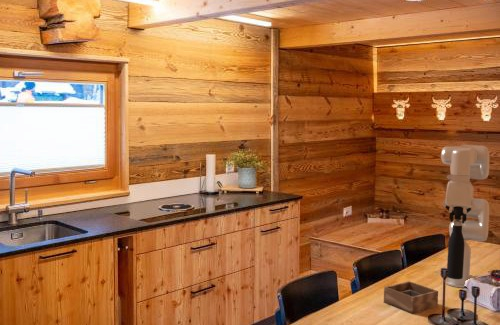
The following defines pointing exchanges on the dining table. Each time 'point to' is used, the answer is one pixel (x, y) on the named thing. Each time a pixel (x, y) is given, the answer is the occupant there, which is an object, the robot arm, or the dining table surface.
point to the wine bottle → (456, 247)
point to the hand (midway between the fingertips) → (457, 221)
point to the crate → (410, 297)
